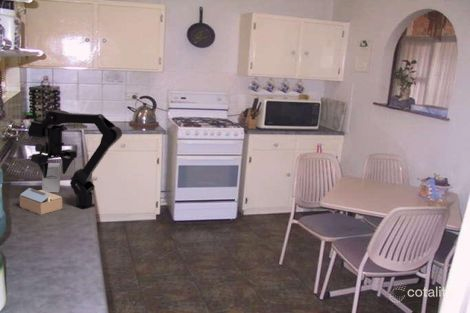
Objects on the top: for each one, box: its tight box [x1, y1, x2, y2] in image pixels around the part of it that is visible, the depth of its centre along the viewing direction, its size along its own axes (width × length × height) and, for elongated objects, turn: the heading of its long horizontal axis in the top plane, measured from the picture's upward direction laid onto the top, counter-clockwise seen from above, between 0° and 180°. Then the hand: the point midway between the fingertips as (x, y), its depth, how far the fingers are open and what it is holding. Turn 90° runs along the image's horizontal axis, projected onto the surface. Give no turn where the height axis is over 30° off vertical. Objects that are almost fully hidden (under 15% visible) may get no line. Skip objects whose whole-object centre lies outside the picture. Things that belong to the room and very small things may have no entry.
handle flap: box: [19, 187, 50, 203], centre depth 180 cm, size 14×5×1 cm, turn 58°
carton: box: [19, 189, 63, 215], centre depth 183 cm, size 14×10×7 cm
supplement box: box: [41, 162, 61, 193], centre depth 207 cm, size 7×7×13 cm
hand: (54, 175), depth 189 cm, fingers open, 9 cm apart
